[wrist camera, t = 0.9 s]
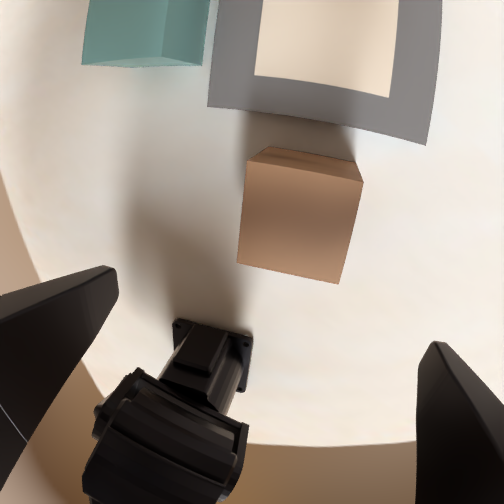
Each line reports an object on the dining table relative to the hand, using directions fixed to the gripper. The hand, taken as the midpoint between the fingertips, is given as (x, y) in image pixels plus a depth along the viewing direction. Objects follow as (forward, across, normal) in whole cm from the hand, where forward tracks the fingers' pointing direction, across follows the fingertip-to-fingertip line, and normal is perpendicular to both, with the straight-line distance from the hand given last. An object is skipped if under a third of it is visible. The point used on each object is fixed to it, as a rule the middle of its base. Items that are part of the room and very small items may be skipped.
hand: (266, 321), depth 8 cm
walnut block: (+12, 0, 0) cm, 12 cm away
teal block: (+12, +10, -9) cm, 18 cm away
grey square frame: (+12, 0, -10) cm, 15 cm away
